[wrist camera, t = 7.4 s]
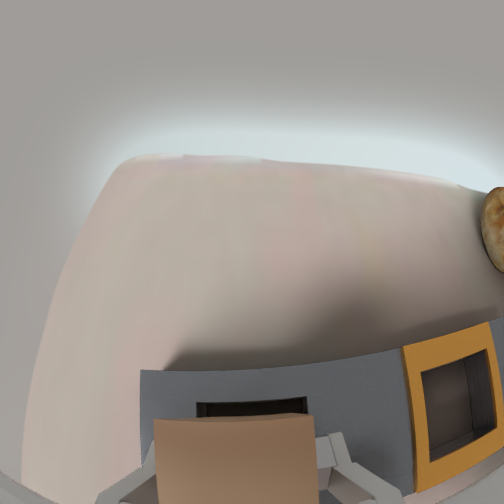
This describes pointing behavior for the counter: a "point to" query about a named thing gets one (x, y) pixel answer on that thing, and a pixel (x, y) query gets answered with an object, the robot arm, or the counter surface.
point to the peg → (237, 460)
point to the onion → (494, 226)
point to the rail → (360, 403)
